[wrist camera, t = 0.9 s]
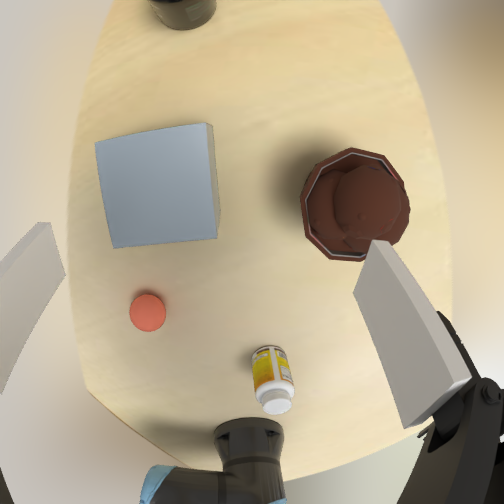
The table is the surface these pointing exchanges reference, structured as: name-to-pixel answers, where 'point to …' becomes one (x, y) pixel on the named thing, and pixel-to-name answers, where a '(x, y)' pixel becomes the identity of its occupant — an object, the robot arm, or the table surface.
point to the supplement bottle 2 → (272, 380)
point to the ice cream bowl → (353, 204)
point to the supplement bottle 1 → (183, 12)
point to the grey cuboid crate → (160, 186)
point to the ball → (147, 313)
